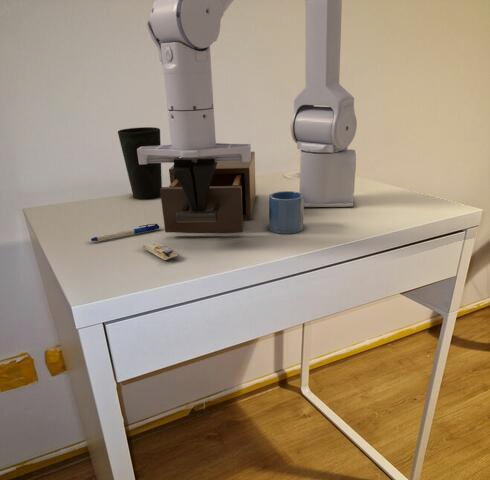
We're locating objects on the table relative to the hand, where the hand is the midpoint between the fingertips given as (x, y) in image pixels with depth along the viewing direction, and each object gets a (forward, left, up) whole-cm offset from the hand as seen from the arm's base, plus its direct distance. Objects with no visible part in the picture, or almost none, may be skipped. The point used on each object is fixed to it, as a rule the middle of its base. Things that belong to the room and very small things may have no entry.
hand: (199, 216), depth 64 cm
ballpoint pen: (+12, -3, -4) cm, 13 cm away
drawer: (0, -6, -3) cm, 7 cm away
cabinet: (0, -18, -4) cm, 19 cm away
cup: (+15, -27, -4) cm, 32 cm away
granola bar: (+5, +5, -4) cm, 8 cm away
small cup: (-12, -6, -4) cm, 14 cm away
